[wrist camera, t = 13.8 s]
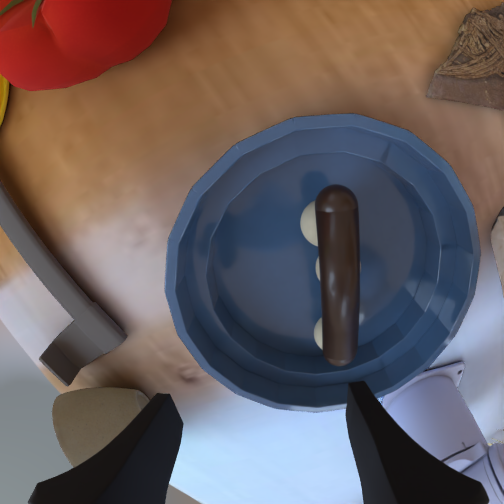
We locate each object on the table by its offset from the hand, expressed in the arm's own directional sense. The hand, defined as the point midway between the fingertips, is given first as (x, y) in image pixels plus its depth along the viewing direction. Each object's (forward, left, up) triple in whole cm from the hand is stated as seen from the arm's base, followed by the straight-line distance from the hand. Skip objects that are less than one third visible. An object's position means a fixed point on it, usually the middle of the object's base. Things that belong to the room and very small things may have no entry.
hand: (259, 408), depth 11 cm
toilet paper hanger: (+5, +19, -6) cm, 20 cm away
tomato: (+20, +7, -9) cm, 23 cm away
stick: (+2, -4, -6) cm, 8 cm away
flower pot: (-9, +10, -7) cm, 16 cm away
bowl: (+2, -4, -9) cm, 10 cm away
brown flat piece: (+16, -24, -9) cm, 30 cm away
